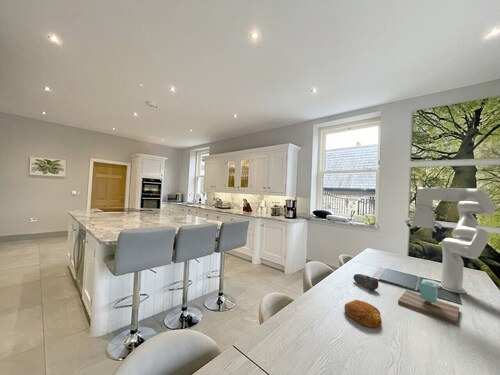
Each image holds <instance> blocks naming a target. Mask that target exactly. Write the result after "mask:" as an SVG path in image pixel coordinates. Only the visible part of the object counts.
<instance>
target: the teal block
mask: <svg viewBox="0 0 500 375" xmlns="http://www.w3.org/2000/svg"><path fill="white" fill-rule="evenodd" d="M438 287H439V286H438V283H435V282H432V281H429V280H424V279H422V280H421V281H420V291H419V294H420V298H421V299H424V300H427V301H430V302H433V303H436V300H438Z"/></svg>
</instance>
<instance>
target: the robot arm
mask: <svg viewBox="0 0 500 375" xmlns="http://www.w3.org/2000/svg"><path fill="white" fill-rule="evenodd" d="M415 201H416V203H415V209H414V210H413V214H412V218H410V219H407V220H405V223H406V225H407V227H408V228H409V229H410V230H409V232H410V235H411V236H414V235H415V227H419V228H427V229H431V230H432V233H431V239H432V240H434V239H436V238H437V232H439V231H440V230H441V229H442V228H443V227H444V225H443V224H441V223H439V222H437V221H436V215H435V210H436V209H437V207H436V206H434V205H433V202H434V201H444V202H458V203H457V211H458V215H459V219H458V222H457V223H456V224H455V226H454V228H453V229H452V232H451V236H452V237H453V238H452V237H447V238H443V239H442V240H441V244H440V246H441V252H442V263H441V264H442V266H441V267H442V268H441V282H439V283H440V284H441V285H442V288H441V289H443V290H446V291H449V292H452V293H455V294H466V293H467V290H466V289H465V288H463V286H464V285H463V281H464V280H463V279H464V265H465V263H464V260H463V258H468V259H472V260H473V259H475V260H476V259H478V258H479V257H480V256H481V255H482V253H483V250H484V249H485V247H486V246H487V243H488V241H489V238H490V235H489V233H488V231H487V230H486V229H484V228H480V227H477V226H478V224H479V222H478V220H477V219H476V217H475V216H474V215H481V216H491V215H493V214H494V213H495V212H496V206H495V203H494V202H493V200H492V199H491V197H490V195H489V194H487V192H486V191H485V190H483V189H481V188H476V187H475V188H473V187H472V188H471V187H470V188H469V187H464V188H463V187H425V186H423V187H422V186H421V187H420V186H419V187H417V189H416V200H415ZM410 222H412V223H411V224H410ZM436 226H438V227H437V228H435V227H436ZM462 257H463V258H462Z"/></svg>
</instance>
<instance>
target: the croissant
mask: <svg viewBox="0 0 500 375" xmlns="http://www.w3.org/2000/svg"><path fill="white" fill-rule="evenodd" d="M343 309H344V312H345V314H347V316H349V317H350V318H352V319H354V320H355V321H356V322H357V323H359V324H362V325H363V326H366V327H369V328H375V329H377V328H379V327H380V326H381V325H382V323H383V322H382V318H381V312H380V310H379V309H378V308H377V307H376V306H375V305H372V304H371V303H368V302H366V301H364V300H363V301H362V300H360V299H359V300H358V299H353V300H352V301H348V302H346V303H345V304H344V308H343Z"/></svg>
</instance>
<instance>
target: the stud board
mask: <svg viewBox="0 0 500 375" xmlns="http://www.w3.org/2000/svg"><path fill="white" fill-rule="evenodd" d="M397 300H398V301H397V304H398V305H401V306H404V307H406V308H407V309H408V308H409V309H411V310H414V311H417V312H419V313H422V314H424V315H427V316H430V317H433V318H435V319H438V320H441V321H443V322H446V323H448V324H452V325H454V326H457V324H458V318H459V313H460V306H456V305H453V304H451V303H448V302H444V301H442V300H438V299H437V300H436V303H433V302H430V301H427V300H424V299H421V298H420V293H418V292H417V293H416V292H413V291H410V290H407V289H406V290H405V291H404V292H403V294H402V295H400V297H399V299H397Z"/></svg>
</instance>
